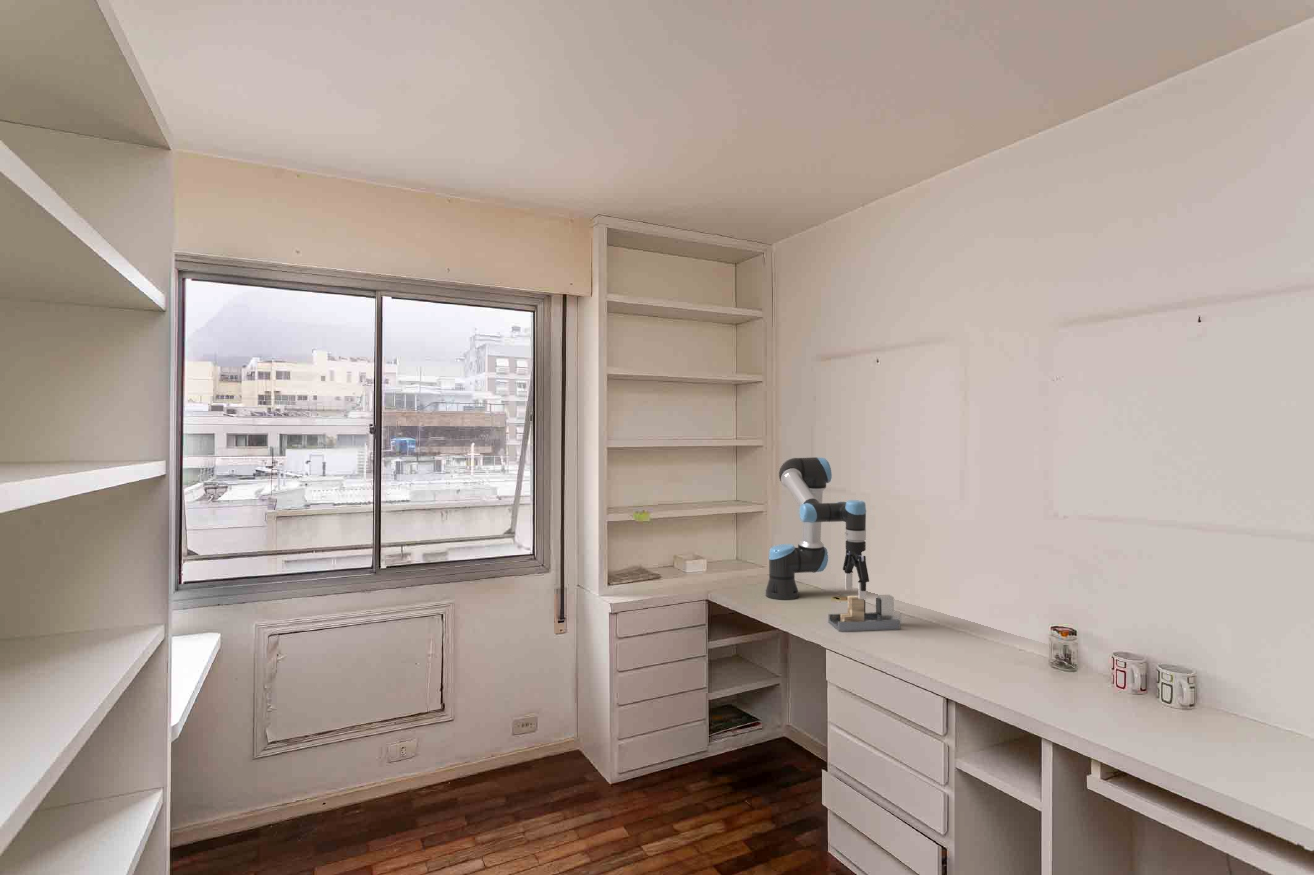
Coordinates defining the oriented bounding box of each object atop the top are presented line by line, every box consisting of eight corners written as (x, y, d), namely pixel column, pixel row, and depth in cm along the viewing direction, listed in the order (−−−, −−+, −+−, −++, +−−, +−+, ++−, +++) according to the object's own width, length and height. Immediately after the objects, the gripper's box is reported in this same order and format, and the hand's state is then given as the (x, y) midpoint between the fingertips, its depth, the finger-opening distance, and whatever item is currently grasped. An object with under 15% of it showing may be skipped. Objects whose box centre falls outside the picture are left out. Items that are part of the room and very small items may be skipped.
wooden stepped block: (840, 621, 263) (840, 596, 263) (861, 620, 264) (861, 595, 264) (844, 624, 260) (844, 598, 259) (865, 623, 260) (865, 598, 260)
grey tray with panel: (828, 622, 267) (828, 594, 267) (892, 620, 270) (892, 591, 270) (839, 631, 255) (839, 601, 255) (906, 629, 258) (905, 599, 258)
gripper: (834, 534, 274) (834, 586, 274) (858, 546, 249) (858, 603, 250) (852, 534, 274) (852, 585, 275) (878, 546, 250) (878, 602, 250)
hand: (855, 594), depth 262 cm, fingers open, 13 cm apart
